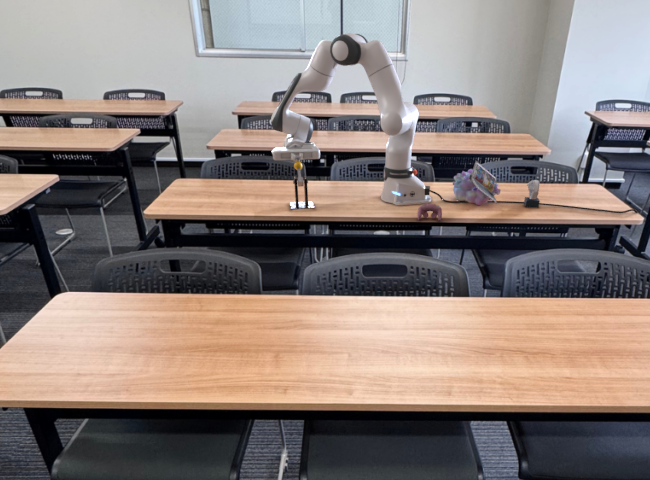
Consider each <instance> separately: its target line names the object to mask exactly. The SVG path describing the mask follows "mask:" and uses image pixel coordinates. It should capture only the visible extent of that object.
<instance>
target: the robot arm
mask: <svg viewBox="0 0 650 480" xmlns="http://www.w3.org/2000/svg"><path fill="white" fill-rule="evenodd" d="M313 51H314V52H313V53H312V56H311V58H310V61H309V63H308V65H307V67H306V69H304V70H303V71H302V72H298V73H297V74H296V75H295V76H294V78H293V79H292V81H291V82H290V83H289V85H288V87H287V89H286V91H285V93H284V95H283V97H282V98H281V99H280V102H279V104H278V105H277V107H276V108H275V109H274V111H273V112H272V114H271V118H270V124H271V126H272V128H273V129H274V130H275V131H277V132H278V133H279V132H280V133H284V134H287V136H286V137H284V140H283V147H275V148H273V149H272V150H271V155H272V159H273V160H274V161H292V162H297V161H299V162H301V161H303V160H319V159H320V158H321V149H320V148H319V147H318V146H317V145H316V143H315V142H314V141H313V142H312V141H311V138H312V137H313V132H314V125H313V122H312V119H311V118H309V117H307V116H305V115H303V114H300V113H297V112H294V111H292V110H290V109H289V108H290V107H291V105H292V103H293V102H294V100H295V98H296V96H297V95H298V94H301V93H306V92H307V93H308V92H309V93H319V92H320V93H321V92H324V91H325V90H327V89H328V88H329V87H330V85H331V84H332V82H333V79H334V77H335V75H336V72H337V69H338V68H339V66H343V67H347V66H355V65H358V64H359V65H361V66H362V68H363V69H364V71H365V74H366V75H367V78H368V81H369V83H370V85H371V88H372V90H373V93H374V95H375V98H376V102H377V106H378V110H379V117H380V120H379V121H380V129H381V130H382V132H383V133H384V134H385V135H388V140H387V143H386V146H385V161H384V162H385V164H384V167H383V187H382V191H381V195H380V200H381V201H382V202H385V203H389V204H393V205H395V206H409V205H424V204H431V201H432V197H431V195H430V193H432V194H434V195H437V196H438V197H439V199H440V200H441V201H443V202H444V203H451V204H459V203H460V204H470V203H469V202H467V201H458V200H446V199H444V198H443V197H442V195H441V194H440V193H438V192H436V191H434V190H432V189H431V185H425V183H424V182H423V181H422V180H421V179H419V177H418V176H416V175H417V174H418V171H417V169H416V168H415V167H413V166H412V153H413V144H414V140H415V135H416V129H417V123H418V120H419V116H420V113H419V108H418V107H417V106H416V105H415V104H414V103H411V102H408V101H404V99H403V93H402V83H401V81H400V78H399V75H398V73H397V70H396V67H395V65H394V63H393V61H392V58H391V56H390V55H389V53H388V51H387V49H386V47H385V45H384V43H382V42H381V41H380V40H378V39H373V40H369V41H368V39H367V38H366V37H365V36H363V35H362V34H360V33H352V32H349V33H344V34H339V35H337V36H335V38H333V40H330V39H323V40H321V41H319V43H318V44H317V46H316V47H315V50H313ZM442 199H443V200H442ZM487 203H488V204H489V203H490V204H493V203H494V204H496V203H497V204H520V205H521V204H523V205H524V201H514V200H513V201H512V200H511V201H509V200H496V203H495V202H493V201H492V200H488V202H487ZM539 206H548V207H550V206H551V207H558V208H569V209H577V210H585V211H593V212H605V213H613V214H626V213H629V212H634V213H635V214H638V213H639V212H638V211H637V209H634V208H630V209H626V210H622V211H621V210H620V211H619V210H608V209H599V208H591V207H582V206H575V205H565V204H554V203H543V202H539Z"/></svg>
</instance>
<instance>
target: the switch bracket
mask: <svg viewBox="0 0 650 480" xmlns="http://www.w3.org/2000/svg"><path fill="white" fill-rule="evenodd" d="M303 181H304V186H303V192H304V193H303V194H304V201H299V190H298V189H299V186H298V176H296V175H294V176H293V180H292V184H293V185H294V199H295V201H293V202H289V207H290V210H305V209H315V204H314V202H313V201H309V195H308V193H309V192H308V184H309V180H308V178H307V175H303Z"/></svg>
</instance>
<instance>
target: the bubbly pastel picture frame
mask: <svg viewBox="0 0 650 480" xmlns="http://www.w3.org/2000/svg"><path fill="white" fill-rule="evenodd" d="M472 167H473V168H470V169H468V170H467V171H464V170H462V172H460V173H459V172H458V173H456V175H454V176H453V180H454V181H452V186H453V189H452V190H453V194H454V198H455V199H456V201H467V202H469V203H468V204H475V205H477V206H481V205H482V204H486V203H487V202H488V201H493V202H495V203H494V204H496V205H497V204H498V203H496V201H497V199H496V197H495V196H496V195H500V194H501V189H500V188H499V183H498V182H496V181H497V177H496V176H495V175H493V174H492V173H491V172H490V171H489V170H488V169H486V167H484V166H483V164H481V163H480V162H478V161H477V160H475V162H474V165H473V166H472Z"/></svg>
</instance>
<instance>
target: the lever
mask: <svg viewBox="0 0 650 480" xmlns="http://www.w3.org/2000/svg"><path fill="white" fill-rule="evenodd" d="M293 163H294V164H293V168H294V169H295V170H296V171H297V186H298V187H304V176H302V174H301V173H302V171H301V170H302V169H303V164H302V162H301V161H294V162H293Z"/></svg>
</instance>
